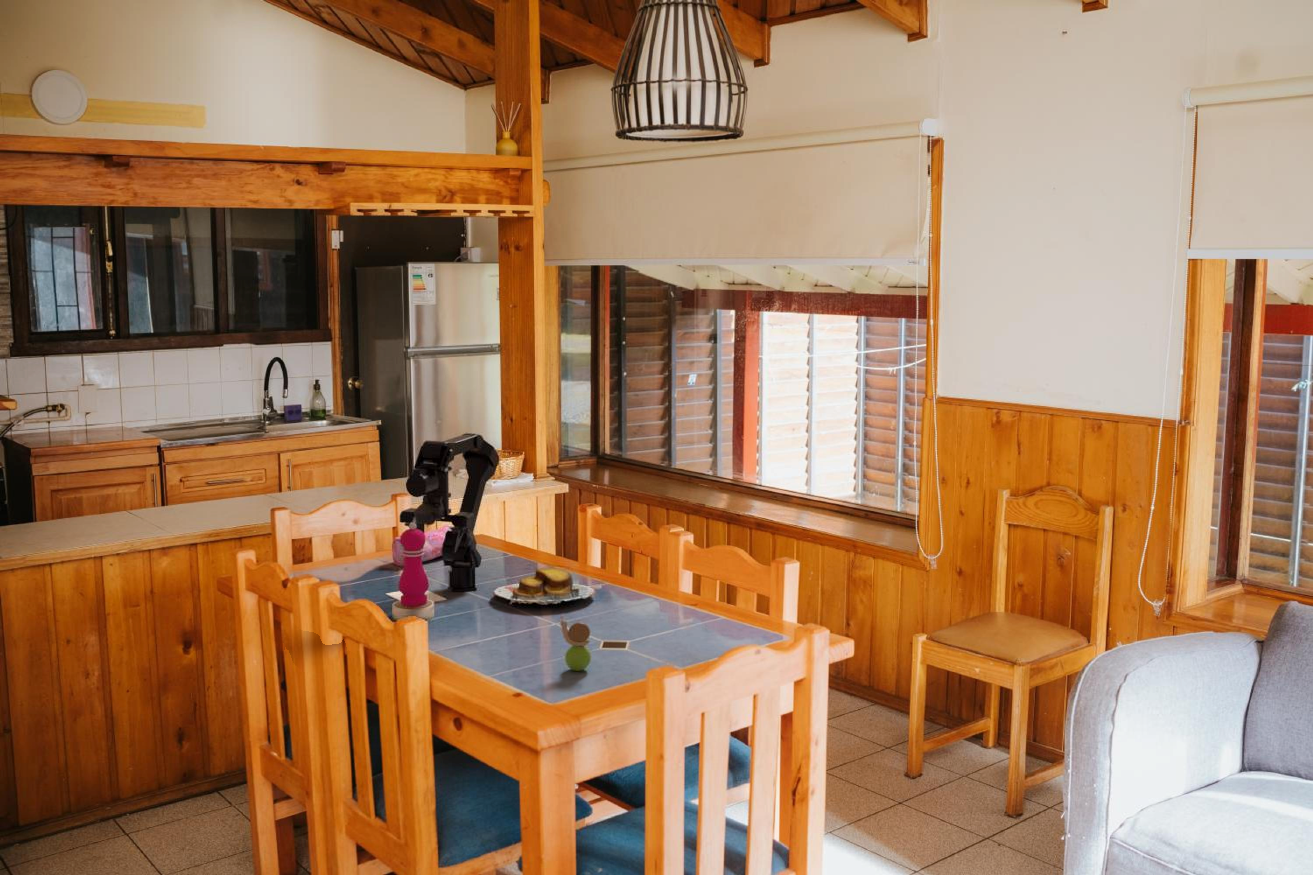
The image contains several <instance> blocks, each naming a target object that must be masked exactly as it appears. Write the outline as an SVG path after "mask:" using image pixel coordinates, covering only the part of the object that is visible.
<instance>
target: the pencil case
mask: <svg viewBox="0 0 1313 875" xmlns="http://www.w3.org/2000/svg"><path fill="white" fill-rule="evenodd" d="M452 527H453V526H451V525H449V524H445V525H443V526H442V527H441V526H440V527H439V528H437V529H433V530H431V531H429V530H428V531H424V535H425V539H426V541H425V544H424V547H423V549H424V550H423V553H424V554H423V555H422V563H423V562H428V561H430V560H434V559H436V558H439V557H442V552H441V550H442V546H443V545H442V544H443V542H444V539H445V535H446V532H447V531H448V530H449V531H452V530H451V528H452ZM400 538H401V535H399V536H397V537H395V538H394V539H393V541H392V544H391V551H392V552H391V553H392V560H393V563H394V564H395V565H396V566H399V567H404V564H405V558H404V555H403V549H404V547H403V546H402V545H401V543H400Z"/></svg>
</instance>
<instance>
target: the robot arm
mask: <svg viewBox="0 0 1313 875" xmlns="http://www.w3.org/2000/svg"><path fill="white" fill-rule="evenodd" d="M458 455H461V457H462V458H463V460H464V461H465V465H464V466H465V471H466V473H467V476H468V477H467V482H466V485H465V489H464V493H463V497H462V500H461V504H460V507H459V512H457V513H455V514H451V513H452V508H450V502H449V501H450V500H449V498H452V493H451V492H449V471H452V470H453V467H452V466H451V465H450V464H451V463H452V461H454V460H455V456H458ZM499 464H500V456H499V453H498V452H497V450H496V449H495V447H494V446H493V445H492V444H491V443H489V442H488V441H486V440H485V438H484V437H483V435H481V434H480V433H468V432H467V433H463V434H462V435H460V436H455V437H453V438H450V439H449V438H448V439H446V440H425V441H424V442H422V445H421V447H420V448H419V451H418V455H417V457H416V460H415V463H414V466H413V469H412V474H411V475H409V477H408V478H407V479H406V482H405V488H406V490H407V493H408V494H409V495H410V496H412V497H414V498H420V497H422V501H421V502H422V503H421V504H419V506H418V507H415V508H414V507H409V508H407V509H403V510H402V511H401V512H400V514H399V523H401V524H402V523H404V526H406V527H408V528H409V525H410V524H411V523H415V524H416V529H418V530H421V531H422V532H423V533H425V525H428V526H432V525H434V524H435V522H442V523H443V522H444V523H451V525H452V526H451V527H452V528H451V530H452V531H449V530H448V531H447V532H446V535H445V539H444V542H443V544H442V545H443V546H442V550H441V552H442V556H441V557H442V561H443V566H444V567H449V570H448V571H447V586H448V587H449V589H450V590H451V591H452V592H464V591H465V592H466V591H467V592H468V591H476V590H477V589H478V588H477V586H476V568H479V567H480V566H481V564H482V558H483V557H482V556H481V555H480V552H479V551H478V549H477V541H476V540H477V539H476V537H475V534H474V531H475V527H476V523H477V519H478V515H479V511H480V508H481V507H480V506H481V504H482V499H483V496H484V492H485V488H486V484H487V482H488V481H489V480H490V479H491V478H492V477H493V476H494V475H495V474H496V471H497V468H498V467H499ZM423 547H424V546H423ZM423 547H422V548H423Z"/></svg>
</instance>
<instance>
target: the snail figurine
mask: <svg viewBox="0 0 1313 875" xmlns="http://www.w3.org/2000/svg"><path fill="white" fill-rule="evenodd" d="M563 618H564V615H563V614H560V619H561V621H560V627H561V632H562V635H563V638H564V640H565V642H566V643H567V644H569V645H570V647H569V648H568V649H567V650H566V652H565V656H564V661H565V664H566V665H567V666H568V668H569V669H570V670H572V671H577V672H579V671H583V670H585V669H587V668H588V666H589V665H590V663H591V659H592V658H591V657H592V656H591V653H590V650H589V649H588V648H587V647H586V646H587V645H588V644H589V643H590V642H591V639H589V638H590V634H591V629H590V628H589V626H588V625H587V624H586V623H584V622H581V621H579V622H575V623H573V624H572V625H571V626H570V627H569V629H568V627H567V626H568V622H567V620H565V619H564V620H563Z"/></svg>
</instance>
